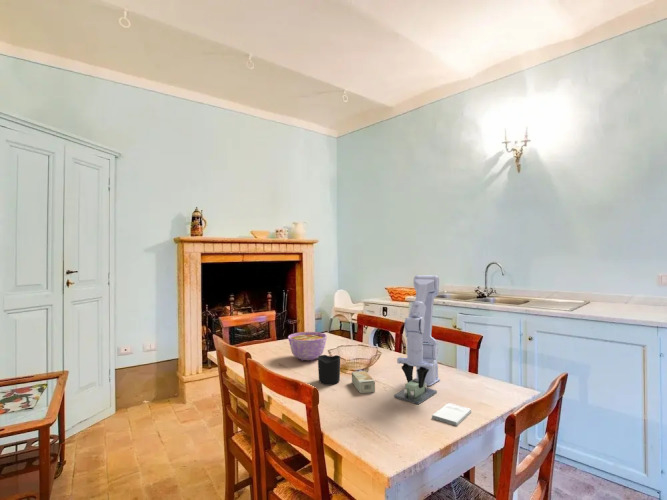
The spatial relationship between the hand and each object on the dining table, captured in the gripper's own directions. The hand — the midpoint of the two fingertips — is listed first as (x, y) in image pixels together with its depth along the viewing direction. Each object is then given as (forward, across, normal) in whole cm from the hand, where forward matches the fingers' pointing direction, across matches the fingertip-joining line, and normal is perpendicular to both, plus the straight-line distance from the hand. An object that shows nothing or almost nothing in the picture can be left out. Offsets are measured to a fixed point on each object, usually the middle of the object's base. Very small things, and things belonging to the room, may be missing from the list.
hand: (415, 385), depth 134 cm
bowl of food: (+4, -66, +7) cm, 66 cm away
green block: (+3, 0, 0) cm, 3 cm away
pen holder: (+4, -35, -10) cm, 37 cm away
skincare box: (+1, -15, -10) cm, 18 cm away
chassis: (+3, 0, 0) cm, 3 cm away
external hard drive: (+4, +17, -7) cm, 19 cm away
